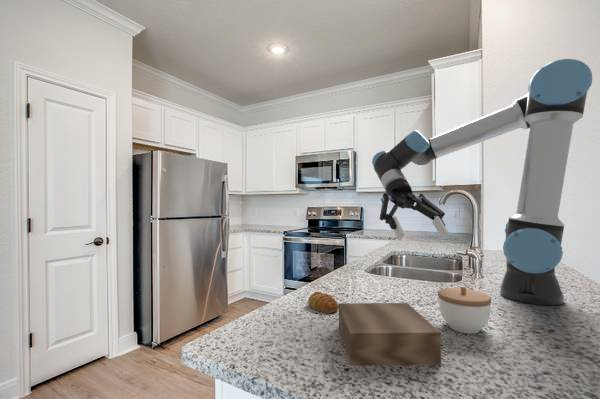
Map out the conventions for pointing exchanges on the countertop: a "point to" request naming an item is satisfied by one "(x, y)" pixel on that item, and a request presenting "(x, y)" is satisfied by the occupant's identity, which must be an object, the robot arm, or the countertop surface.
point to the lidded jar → (464, 309)
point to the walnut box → (388, 335)
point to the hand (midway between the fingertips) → (424, 236)
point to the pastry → (323, 302)
